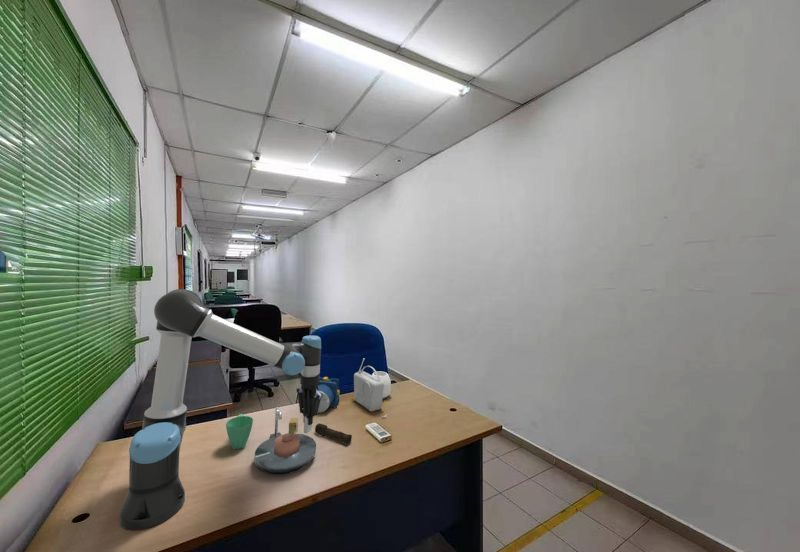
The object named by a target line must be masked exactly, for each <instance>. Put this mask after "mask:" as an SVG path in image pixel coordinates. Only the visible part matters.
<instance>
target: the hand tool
mask: <svg viewBox="0 0 800 552" xmlns="http://www.w3.org/2000/svg"><path fill="white" fill-rule="evenodd" d="M314 432H315V433H316V434H317V435H319V436H321V437H323V438H324V437H327V438H329V439H332V440H335V441H337V442H340V443H341V444H342V443H343V444H345V446H348V445H350V444H351V442H352V438H353V435H352V434H347V433H345V432H342V431H338V430H335V429H332V428H330V427H328V425H327V424H324V423H317V424H316V425H315V428H314Z"/></svg>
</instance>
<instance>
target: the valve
mask: <svg viewBox="0 0 800 552" xmlns="http://www.w3.org/2000/svg"><path fill="white" fill-rule="evenodd" d="M339 386H340V379H339V378H329V377H328V376H324V377H321V376H320V379H319V384H318V389H319V390H318V392H319V393H320V394H321V393H322V394H323V396H322V398H321V401H320V405H319V409H318V413H324V412H325V411H326V410H328V408H337V404H339V403H340V393H341V391H340V389H339ZM318 413H317V414H318Z"/></svg>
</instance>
